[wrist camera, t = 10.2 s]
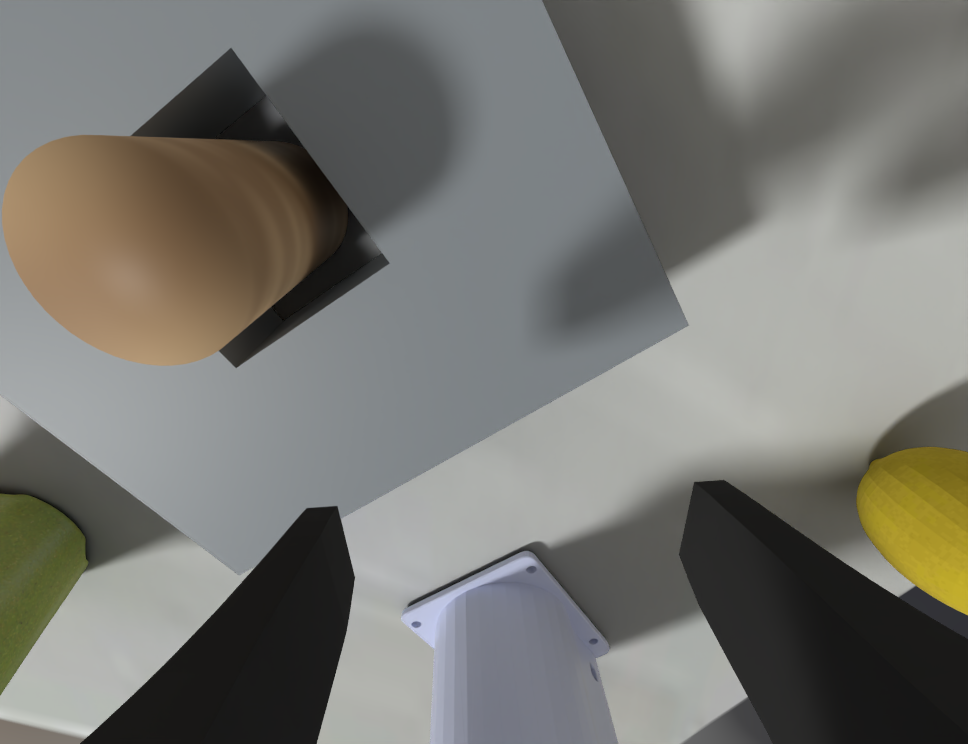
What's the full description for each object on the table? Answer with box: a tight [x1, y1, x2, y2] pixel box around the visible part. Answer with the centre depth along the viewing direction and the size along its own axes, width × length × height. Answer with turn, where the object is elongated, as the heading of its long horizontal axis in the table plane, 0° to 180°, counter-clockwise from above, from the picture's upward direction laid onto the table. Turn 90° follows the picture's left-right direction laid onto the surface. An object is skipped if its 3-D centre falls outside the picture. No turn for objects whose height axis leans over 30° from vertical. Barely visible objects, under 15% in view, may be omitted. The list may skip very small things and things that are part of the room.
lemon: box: [856, 447, 968, 615], centre depth 18 cm, size 6×6×8 cm
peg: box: [2, 135, 348, 366], centre depth 12 cm, size 4×4×8 cm
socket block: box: [0, 0, 689, 575], centre depth 13 cm, size 18×18×4 cm
